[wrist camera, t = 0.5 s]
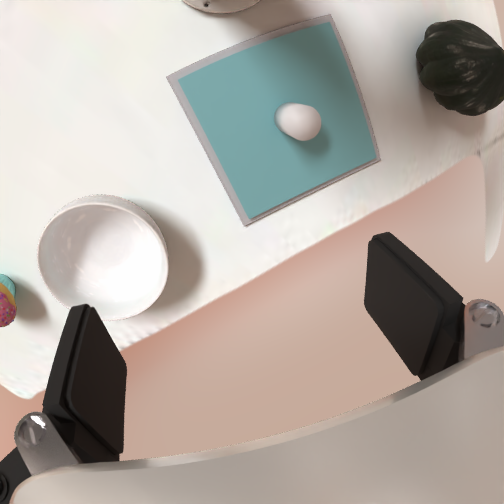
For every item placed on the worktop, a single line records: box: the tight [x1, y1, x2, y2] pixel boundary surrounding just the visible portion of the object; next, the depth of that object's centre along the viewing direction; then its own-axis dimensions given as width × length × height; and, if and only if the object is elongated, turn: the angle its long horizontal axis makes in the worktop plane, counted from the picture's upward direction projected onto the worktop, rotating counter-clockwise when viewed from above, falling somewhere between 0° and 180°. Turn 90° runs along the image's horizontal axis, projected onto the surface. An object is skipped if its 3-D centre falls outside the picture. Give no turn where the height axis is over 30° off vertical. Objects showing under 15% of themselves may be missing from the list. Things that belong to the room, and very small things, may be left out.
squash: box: [416, 20, 504, 116], centre depth 32 cm, size 14×15×15 cm
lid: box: [178, 22, 377, 219], centre depth 35 cm, size 20×20×6 cm
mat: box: [166, 14, 381, 226], centre depth 38 cm, size 22×22×1 cm
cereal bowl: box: [37, 194, 169, 321], centre depth 38 cm, size 17×17×7 cm
